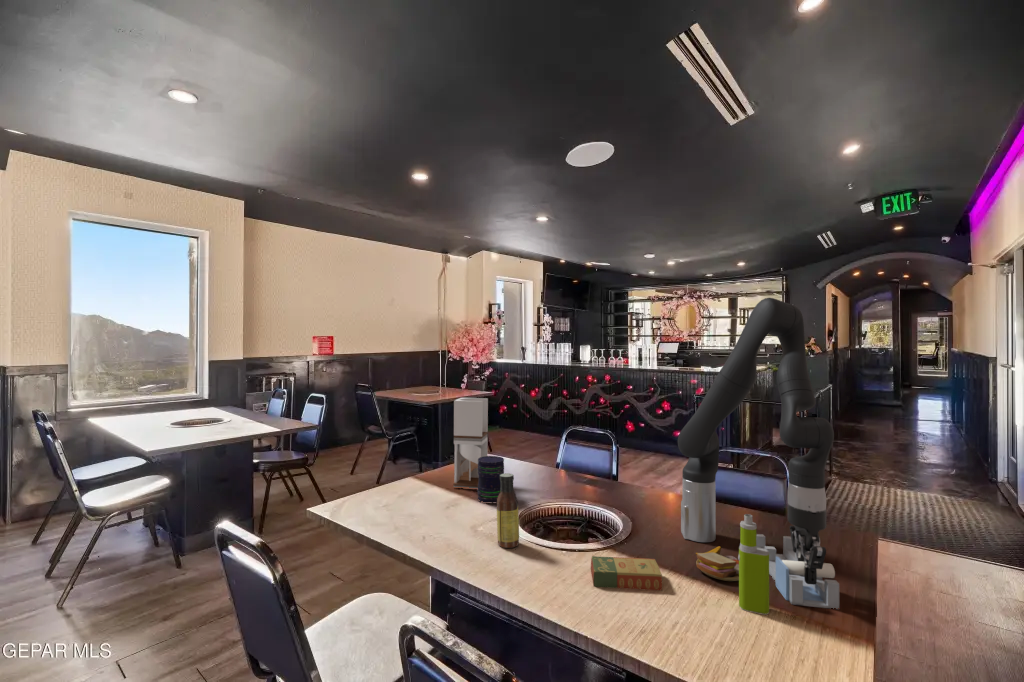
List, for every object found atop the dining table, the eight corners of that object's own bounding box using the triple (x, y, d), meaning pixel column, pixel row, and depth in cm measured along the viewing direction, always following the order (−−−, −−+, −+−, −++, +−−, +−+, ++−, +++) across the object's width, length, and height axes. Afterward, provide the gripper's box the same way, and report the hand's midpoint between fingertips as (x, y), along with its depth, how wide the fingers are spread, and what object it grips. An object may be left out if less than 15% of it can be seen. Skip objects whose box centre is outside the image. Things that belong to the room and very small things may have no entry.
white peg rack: (788, 604, 103) (788, 572, 103) (752, 553, 128) (752, 528, 128) (839, 609, 101) (839, 576, 101) (792, 557, 126) (792, 531, 126)
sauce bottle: (523, 544, 133) (523, 475, 134) (508, 551, 129) (508, 479, 129) (507, 537, 138) (507, 470, 138) (492, 544, 133) (492, 474, 134)
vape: (737, 600, 104) (737, 511, 105) (768, 606, 102) (768, 515, 102) (738, 609, 101) (738, 516, 101) (770, 615, 99) (770, 521, 99)
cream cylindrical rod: (786, 576, 106) (786, 563, 106) (781, 570, 109) (781, 557, 109) (834, 580, 104) (834, 567, 104) (828, 574, 107) (828, 561, 107)
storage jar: (503, 504, 167) (503, 462, 167) (476, 503, 167) (476, 462, 168) (504, 495, 177) (504, 456, 177) (478, 495, 177) (478, 455, 178)
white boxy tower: (453, 488, 185) (454, 400, 185) (460, 481, 196) (461, 397, 196) (481, 490, 183) (481, 401, 184) (487, 482, 194) (487, 398, 194)
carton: (662, 592, 108) (662, 574, 108) (592, 588, 110) (593, 570, 110) (655, 574, 117) (655, 557, 117) (590, 571, 118) (590, 554, 118)
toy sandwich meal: (761, 578, 115) (761, 559, 115) (719, 588, 110) (719, 568, 110) (721, 556, 127) (721, 539, 127) (682, 565, 122) (682, 547, 122)
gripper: (777, 493, 115) (777, 564, 114) (801, 513, 101) (802, 594, 101) (810, 495, 113) (811, 567, 113) (840, 516, 99) (840, 597, 99)
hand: (807, 579), depth 107 cm, fingers closed on cream cylindrical rod, 3 cm apart
